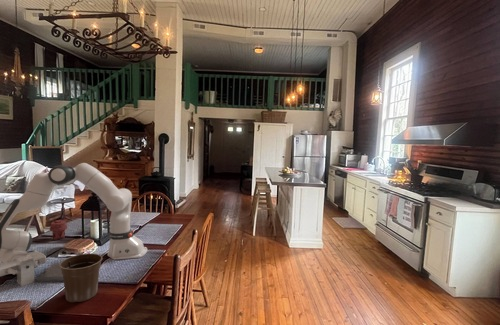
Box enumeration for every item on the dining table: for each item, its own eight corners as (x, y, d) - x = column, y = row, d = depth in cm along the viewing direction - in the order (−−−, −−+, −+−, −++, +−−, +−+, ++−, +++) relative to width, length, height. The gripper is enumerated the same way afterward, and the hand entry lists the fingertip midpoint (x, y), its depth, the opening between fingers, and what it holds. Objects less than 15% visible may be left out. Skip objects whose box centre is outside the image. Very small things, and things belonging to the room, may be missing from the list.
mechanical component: (71, 236, 193) (58, 241, 183) (59, 235, 195) (46, 240, 185) (70, 219, 192) (58, 223, 182) (58, 218, 194) (45, 222, 184)
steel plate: (82, 267, 149) (82, 263, 148) (67, 281, 135) (67, 276, 134) (54, 268, 147) (54, 263, 147) (36, 281, 133) (36, 276, 133)
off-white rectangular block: (30, 278, 137) (29, 254, 136) (34, 282, 133) (33, 258, 132) (17, 282, 133) (16, 258, 132) (21, 286, 129) (20, 261, 128)
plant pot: (86, 282, 135) (86, 250, 133) (110, 290, 128) (110, 256, 127) (51, 299, 120) (50, 264, 118) (77, 309, 113) (76, 272, 112)
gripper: (-12, 262, 131) (-3, 271, 123) (39, 249, 148) (50, 256, 140) (-11, 275, 132) (-3, 284, 124) (40, 260, 148) (50, 267, 140)
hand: (26, 269), depth 132 cm, fingers open, 6 cm apart
